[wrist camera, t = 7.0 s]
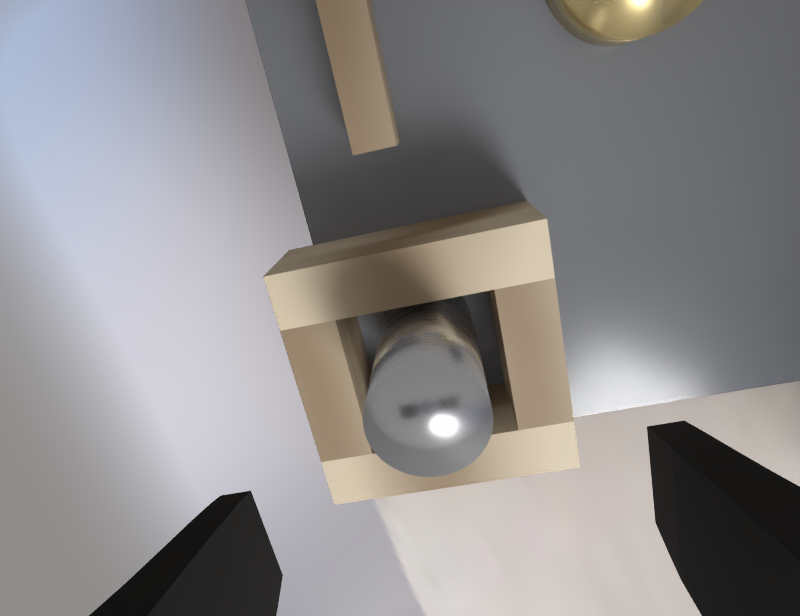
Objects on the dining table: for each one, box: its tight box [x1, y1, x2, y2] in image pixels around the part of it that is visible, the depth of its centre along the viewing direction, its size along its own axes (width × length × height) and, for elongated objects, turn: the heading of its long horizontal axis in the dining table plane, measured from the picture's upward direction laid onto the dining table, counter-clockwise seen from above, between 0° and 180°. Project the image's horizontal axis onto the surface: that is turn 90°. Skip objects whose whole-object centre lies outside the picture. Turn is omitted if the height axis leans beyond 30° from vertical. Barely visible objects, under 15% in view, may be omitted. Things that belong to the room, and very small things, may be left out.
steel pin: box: [363, 296, 493, 477], centre depth 15 cm, size 3×3×6 cm
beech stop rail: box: [316, 0, 400, 155], centre depth 14 cm, size 1×6×2 cm, turn 12°
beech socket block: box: [263, 200, 580, 504], centre depth 17 cm, size 8×8×3 cm
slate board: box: [245, 0, 800, 417], centre depth 17 cm, size 15×17×1 cm
